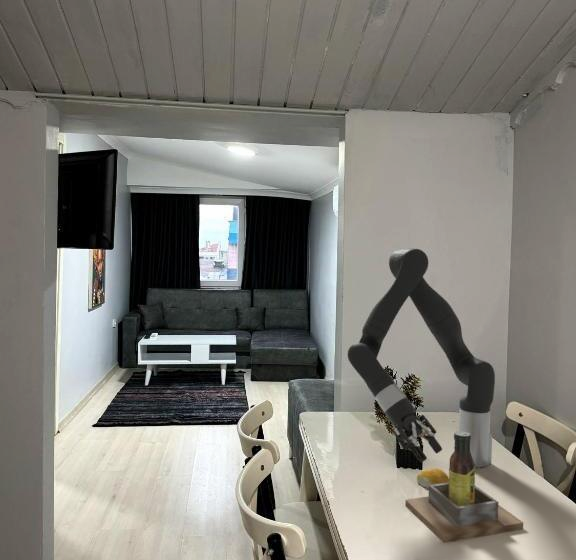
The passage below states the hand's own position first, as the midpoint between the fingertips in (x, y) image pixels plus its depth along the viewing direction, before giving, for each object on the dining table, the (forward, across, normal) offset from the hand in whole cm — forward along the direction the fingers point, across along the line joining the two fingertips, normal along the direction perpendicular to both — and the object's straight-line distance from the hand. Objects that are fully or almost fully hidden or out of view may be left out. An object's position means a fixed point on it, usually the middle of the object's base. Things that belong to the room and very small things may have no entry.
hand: (432, 456), depth 135 cm
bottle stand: (+15, 0, +3) cm, 16 cm away
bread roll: (+6, +12, +14) cm, 19 cm away
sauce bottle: (+14, 0, +2) cm, 15 cm away
